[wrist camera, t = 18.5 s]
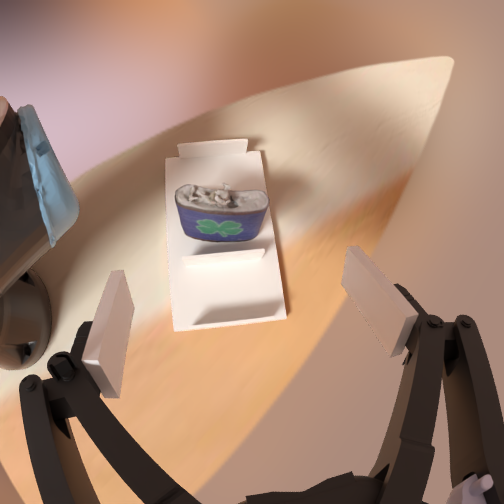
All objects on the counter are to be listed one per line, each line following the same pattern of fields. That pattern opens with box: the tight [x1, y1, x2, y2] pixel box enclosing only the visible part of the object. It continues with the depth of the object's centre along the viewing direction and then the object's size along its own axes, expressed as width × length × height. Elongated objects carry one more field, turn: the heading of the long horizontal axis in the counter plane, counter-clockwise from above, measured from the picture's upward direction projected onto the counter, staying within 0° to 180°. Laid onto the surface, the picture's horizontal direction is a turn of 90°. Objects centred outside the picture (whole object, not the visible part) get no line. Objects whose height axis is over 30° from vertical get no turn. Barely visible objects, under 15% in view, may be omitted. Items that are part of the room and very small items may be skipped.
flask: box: [174, 183, 269, 243], centre depth 31 cm, size 9×3×11 cm, turn 88°
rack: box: [165, 139, 287, 332], centre depth 35 cm, size 13×23×4 cm, turn 7°
